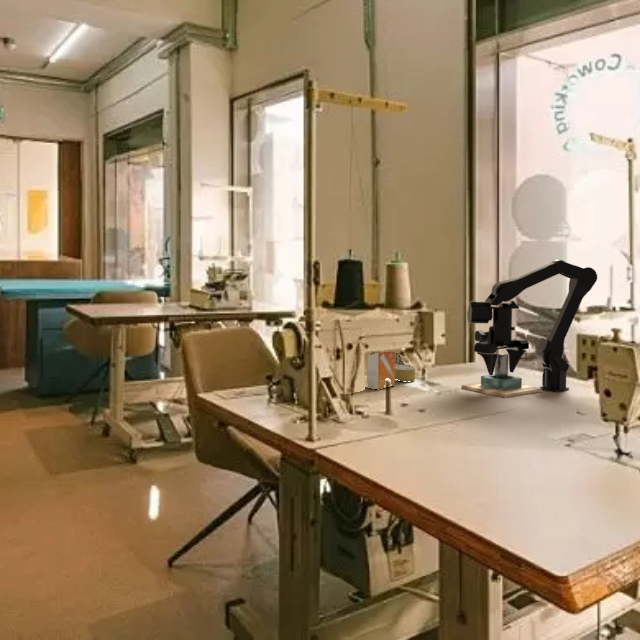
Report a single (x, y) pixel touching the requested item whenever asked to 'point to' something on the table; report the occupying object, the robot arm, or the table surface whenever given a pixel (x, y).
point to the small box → (380, 369)
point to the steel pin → (501, 366)
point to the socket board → (505, 393)
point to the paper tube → (403, 370)
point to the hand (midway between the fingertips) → (501, 373)
